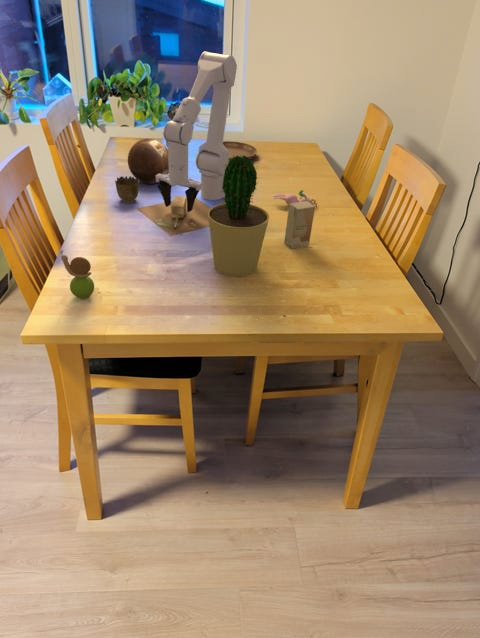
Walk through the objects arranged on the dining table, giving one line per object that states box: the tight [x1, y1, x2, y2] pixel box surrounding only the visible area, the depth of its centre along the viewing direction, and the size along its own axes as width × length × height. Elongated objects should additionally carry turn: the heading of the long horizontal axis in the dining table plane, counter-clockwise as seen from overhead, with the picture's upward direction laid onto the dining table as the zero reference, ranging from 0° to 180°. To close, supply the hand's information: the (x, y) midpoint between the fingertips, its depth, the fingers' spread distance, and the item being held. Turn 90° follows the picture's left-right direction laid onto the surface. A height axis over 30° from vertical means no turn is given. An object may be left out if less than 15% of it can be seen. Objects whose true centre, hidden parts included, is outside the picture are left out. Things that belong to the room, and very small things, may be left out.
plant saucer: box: [208, 140, 258, 161], centre depth 212 cm, size 21×21×3 cm
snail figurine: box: [59, 249, 95, 299], centre depth 118 cm, size 5×6×12 cm
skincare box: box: [283, 201, 316, 249], centre depth 147 cm, size 6×4×12 cm
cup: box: [114, 176, 140, 203], centre depth 165 cm, size 8×7×8 cm
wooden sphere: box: [127, 138, 169, 185], centre depth 179 cm, size 15×15×15 cm
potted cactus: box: [208, 154, 270, 278], centre depth 129 cm, size 15×15×30 cm
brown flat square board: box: [136, 197, 212, 237], centre depth 160 cm, size 21×22×1 cm
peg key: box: [171, 195, 187, 228], centre depth 156 cm, size 4×14×4 cm, turn 179°
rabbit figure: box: [272, 189, 318, 207], centre depth 172 cm, size 6×6×15 cm
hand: (178, 208), depth 159 cm, fingers open, 7 cm apart
